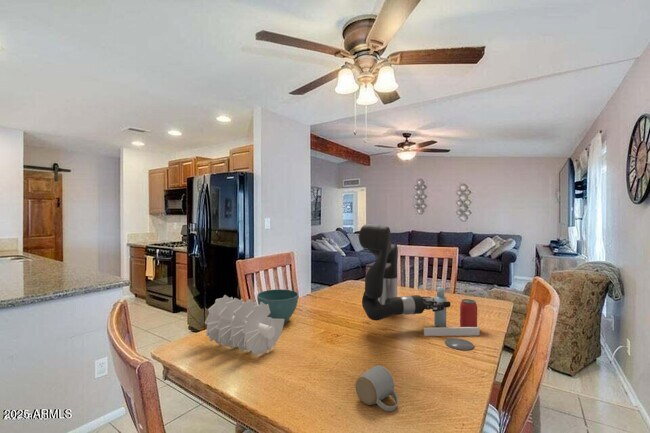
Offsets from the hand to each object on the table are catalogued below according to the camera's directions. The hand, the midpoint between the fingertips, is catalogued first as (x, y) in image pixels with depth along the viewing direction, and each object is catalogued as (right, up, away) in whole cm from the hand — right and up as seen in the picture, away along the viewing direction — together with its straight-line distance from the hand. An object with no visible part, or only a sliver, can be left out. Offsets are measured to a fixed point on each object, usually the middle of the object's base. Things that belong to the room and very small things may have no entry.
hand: (445, 302), depth 139 cm
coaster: (-2, -11, -19) cm, 21 cm away
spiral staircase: (-81, -11, -22) cm, 85 cm away
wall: (-1, -11, -10) cm, 14 cm away
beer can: (+8, -11, -3) cm, 14 cm away
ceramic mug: (-38, -12, -54) cm, 67 cm away
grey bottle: (-3, -10, 0) cm, 10 cm away
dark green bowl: (-73, -10, +6) cm, 74 cm away
